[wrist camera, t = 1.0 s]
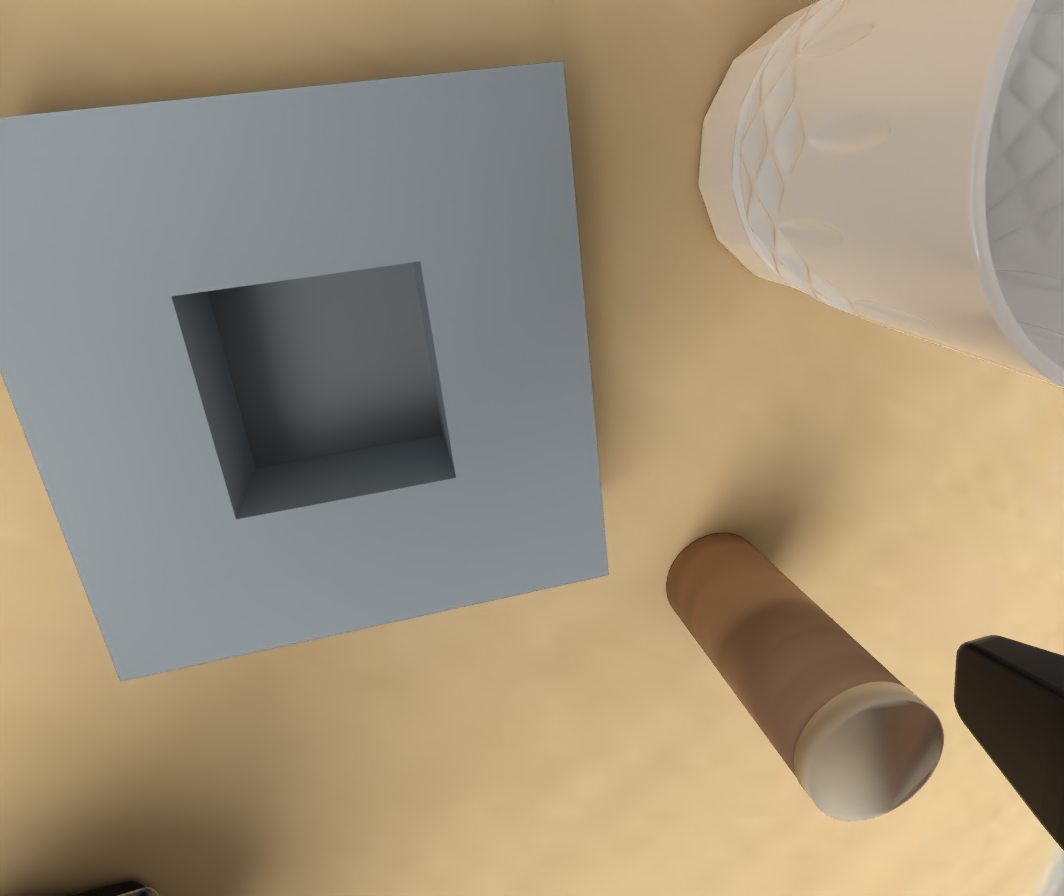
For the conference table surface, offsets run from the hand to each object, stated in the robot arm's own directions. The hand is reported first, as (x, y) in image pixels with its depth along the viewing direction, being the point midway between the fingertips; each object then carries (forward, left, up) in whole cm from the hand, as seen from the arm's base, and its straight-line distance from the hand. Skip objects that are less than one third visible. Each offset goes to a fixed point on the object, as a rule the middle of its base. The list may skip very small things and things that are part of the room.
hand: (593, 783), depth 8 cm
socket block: (+3, +3, -13) cm, 13 cm away
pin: (-6, -7, -13) cm, 16 cm away
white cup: (+6, -10, -13) cm, 18 cm away
